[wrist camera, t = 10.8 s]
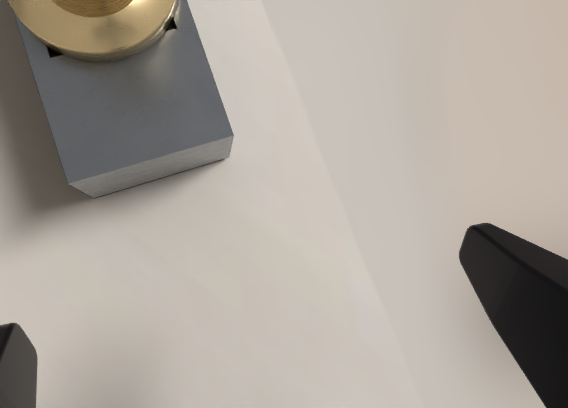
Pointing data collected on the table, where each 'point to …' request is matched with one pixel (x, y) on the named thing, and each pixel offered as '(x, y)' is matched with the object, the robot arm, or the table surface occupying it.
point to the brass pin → (96, 25)
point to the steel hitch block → (132, 110)
